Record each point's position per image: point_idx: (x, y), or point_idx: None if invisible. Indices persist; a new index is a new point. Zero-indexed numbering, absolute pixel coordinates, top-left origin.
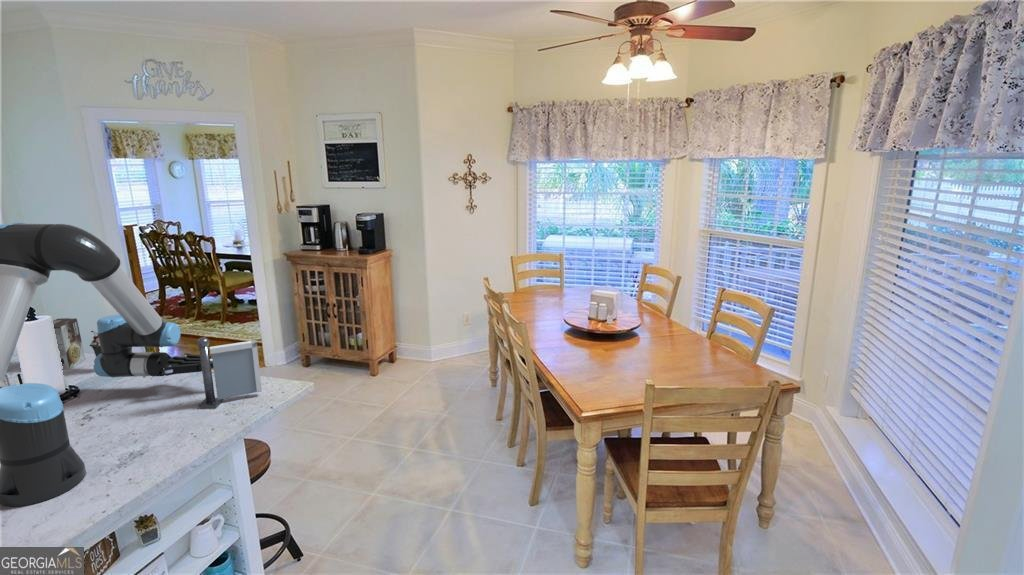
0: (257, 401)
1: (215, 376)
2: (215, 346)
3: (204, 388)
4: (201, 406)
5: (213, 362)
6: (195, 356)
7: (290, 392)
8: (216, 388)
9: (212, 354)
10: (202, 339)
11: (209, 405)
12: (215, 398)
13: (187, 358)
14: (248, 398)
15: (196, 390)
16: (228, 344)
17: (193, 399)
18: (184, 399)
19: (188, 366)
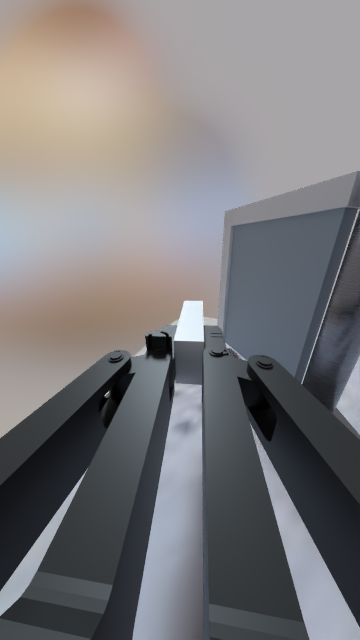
0: None
1: (318, 318)
2: (332, 180)
3: (347, 380)
4: (357, 435)
5: (339, 258)
6: (13, 476)
7: (210, 322)
8: (307, 360)
9: (352, 215)
10: None
11: (336, 408)
12: None
13: (56, 612)
14: (241, 357)
15: (186, 585)
16: (283, 194)
17: (306, 534)
18: (339, 635)
19: (342, 436)
